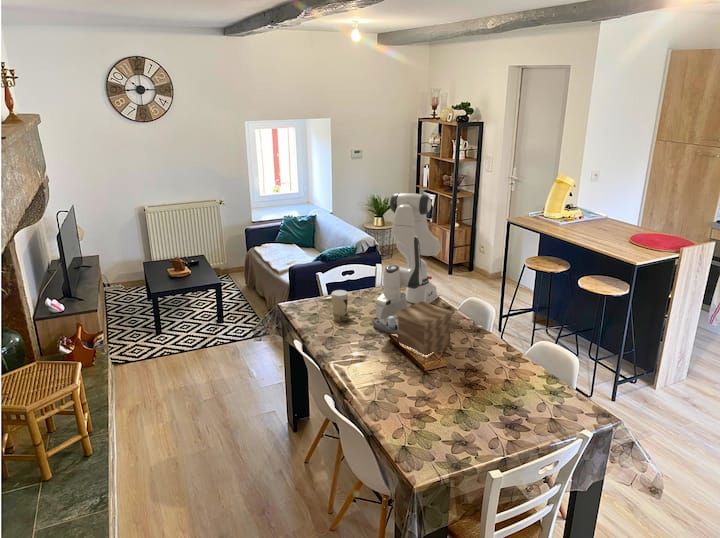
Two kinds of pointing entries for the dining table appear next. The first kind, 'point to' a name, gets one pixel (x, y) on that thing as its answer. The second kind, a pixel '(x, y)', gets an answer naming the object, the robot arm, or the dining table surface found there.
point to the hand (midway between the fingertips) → (391, 321)
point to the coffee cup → (339, 302)
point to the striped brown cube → (424, 327)
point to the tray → (387, 326)
